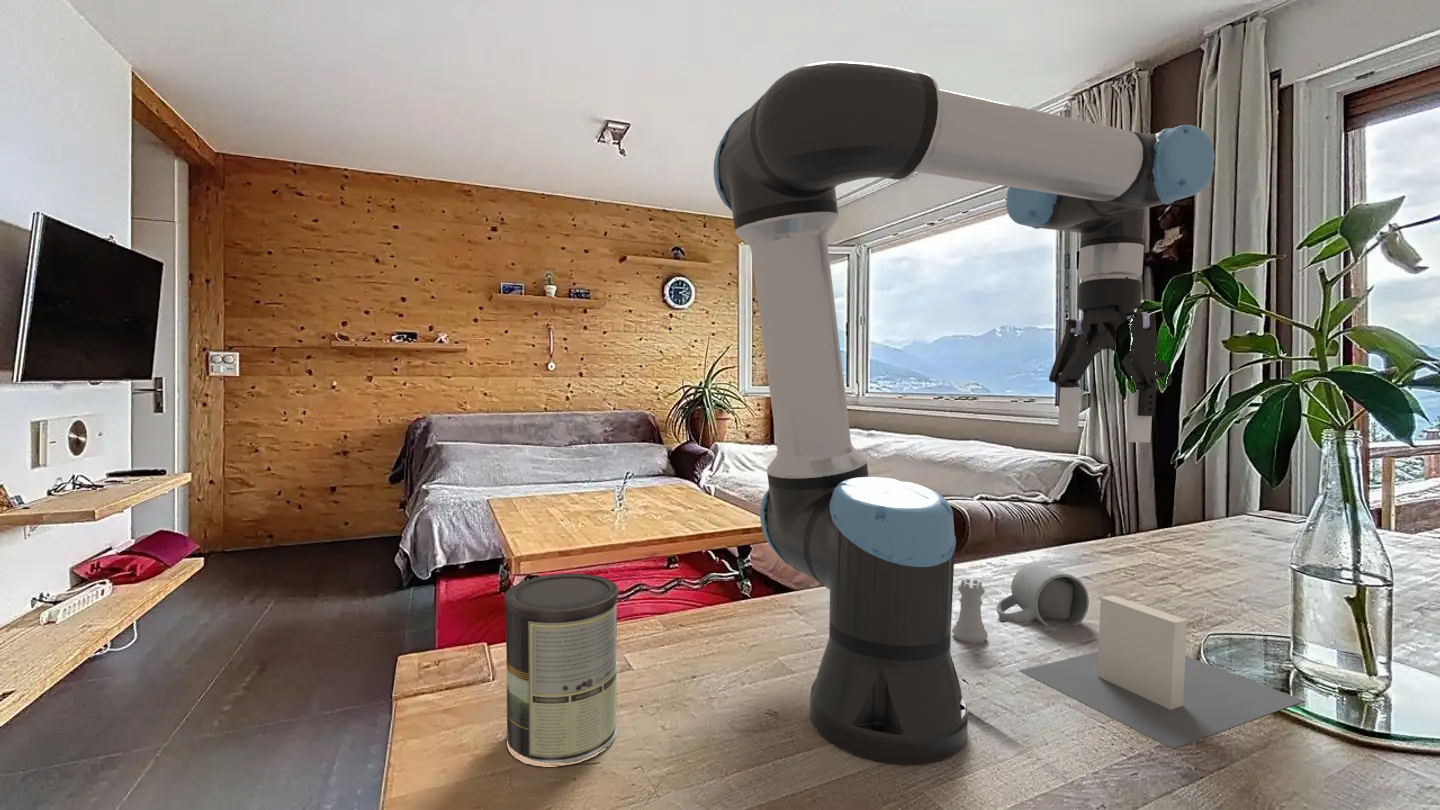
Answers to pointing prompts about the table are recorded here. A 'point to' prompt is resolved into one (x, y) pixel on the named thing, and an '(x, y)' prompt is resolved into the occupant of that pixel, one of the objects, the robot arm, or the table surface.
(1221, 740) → the table surface
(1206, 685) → the mat
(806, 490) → the robot arm
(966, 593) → the rook chess piece
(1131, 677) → the tile
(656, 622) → the table surface
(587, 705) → the coffee can
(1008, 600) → the ceramic mug
